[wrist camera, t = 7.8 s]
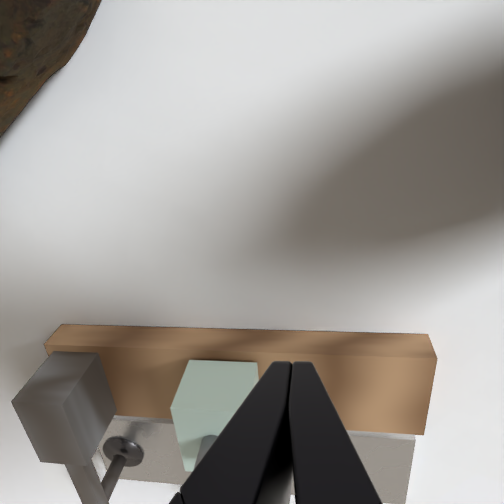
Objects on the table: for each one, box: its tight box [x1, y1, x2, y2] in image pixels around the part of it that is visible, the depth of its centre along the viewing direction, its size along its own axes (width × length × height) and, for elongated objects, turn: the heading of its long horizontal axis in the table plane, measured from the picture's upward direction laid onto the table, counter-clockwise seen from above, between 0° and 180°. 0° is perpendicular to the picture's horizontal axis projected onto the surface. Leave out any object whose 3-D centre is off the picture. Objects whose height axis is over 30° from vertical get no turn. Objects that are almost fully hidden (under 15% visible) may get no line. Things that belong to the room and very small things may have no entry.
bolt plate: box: [98, 415, 416, 504], centre depth 30 cm, size 23×7×1 cm, turn 94°
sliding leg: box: [170, 360, 259, 472], centre depth 24 cm, size 4×14×6 cm, turn 4°
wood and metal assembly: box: [11, 324, 437, 504], centre depth 25 cm, size 23×14×6 cm, turn 94°
